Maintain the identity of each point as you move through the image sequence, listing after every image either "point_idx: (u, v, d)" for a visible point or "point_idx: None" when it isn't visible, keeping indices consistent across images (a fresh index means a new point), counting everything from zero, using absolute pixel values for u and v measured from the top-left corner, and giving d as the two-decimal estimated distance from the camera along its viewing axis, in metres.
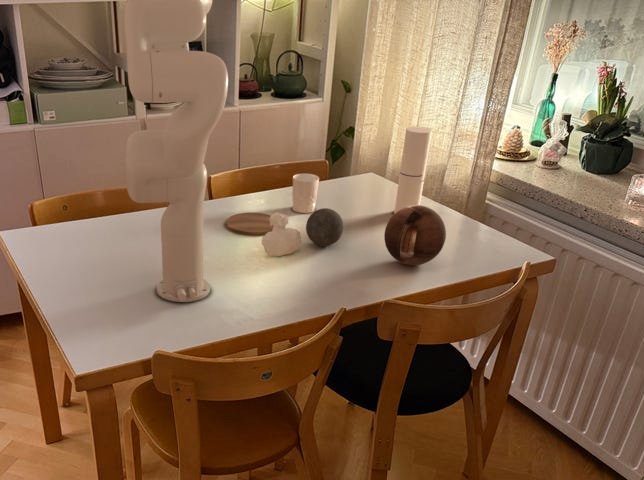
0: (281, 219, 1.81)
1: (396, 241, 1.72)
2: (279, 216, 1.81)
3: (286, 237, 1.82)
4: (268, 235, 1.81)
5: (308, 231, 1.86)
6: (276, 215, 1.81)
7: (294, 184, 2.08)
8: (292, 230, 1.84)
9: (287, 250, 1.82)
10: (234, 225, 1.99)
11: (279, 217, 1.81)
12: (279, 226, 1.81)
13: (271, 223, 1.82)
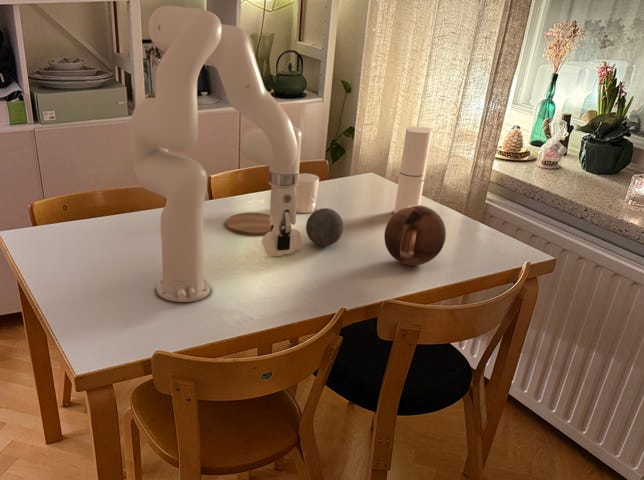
0: None
1: (396, 241, 1.72)
2: None
3: None
4: (268, 235, 1.81)
5: (308, 231, 1.86)
6: None
7: None
8: (292, 230, 1.84)
9: (287, 250, 1.82)
10: (234, 225, 1.99)
11: None
12: None
13: (271, 223, 1.82)
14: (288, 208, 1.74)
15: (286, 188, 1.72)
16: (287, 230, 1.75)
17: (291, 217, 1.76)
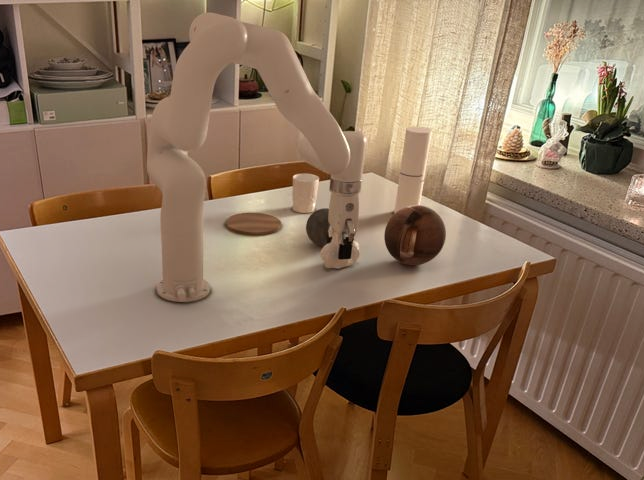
0: None
1: (396, 241, 1.72)
2: None
3: None
4: (327, 247, 1.74)
5: (308, 231, 1.86)
6: None
7: (294, 184, 2.08)
8: None
9: (346, 262, 1.76)
10: (234, 225, 1.99)
11: None
12: (339, 238, 1.74)
13: (330, 234, 1.76)
14: (350, 215, 1.68)
15: (349, 196, 1.66)
16: (350, 237, 1.67)
17: (353, 223, 1.69)
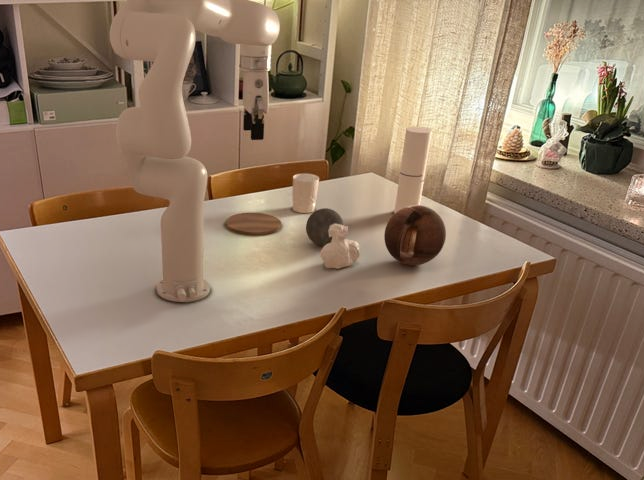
0: (341, 230, 1.75)
1: (396, 241, 1.72)
2: (339, 227, 1.74)
3: (346, 249, 1.75)
4: (327, 247, 1.74)
5: (308, 231, 1.86)
6: (335, 226, 1.75)
7: (294, 184, 2.08)
8: (351, 241, 1.77)
9: (346, 262, 1.76)
10: (234, 225, 1.99)
11: (339, 228, 1.74)
12: (339, 238, 1.74)
13: (330, 234, 1.76)
14: (260, 92, 1.69)
15: (257, 72, 1.67)
16: (260, 114, 1.68)
17: (263, 101, 1.70)
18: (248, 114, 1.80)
